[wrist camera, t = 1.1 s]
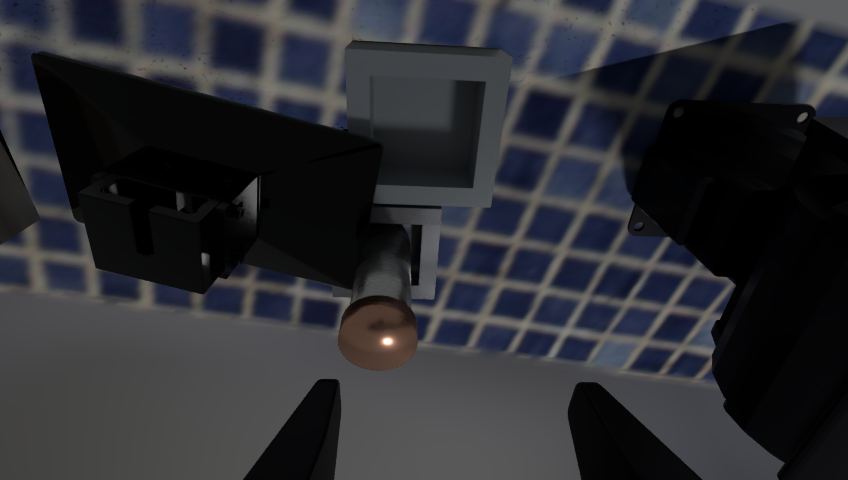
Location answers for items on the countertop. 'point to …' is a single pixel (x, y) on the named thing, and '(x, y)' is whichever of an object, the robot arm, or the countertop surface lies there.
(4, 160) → the rail
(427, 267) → the pin socket
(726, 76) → the countertop surface
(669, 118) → the robot arm
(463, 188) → the tray
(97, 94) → the build plate
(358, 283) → the pin
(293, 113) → the countertop surface
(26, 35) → the countertop surface
